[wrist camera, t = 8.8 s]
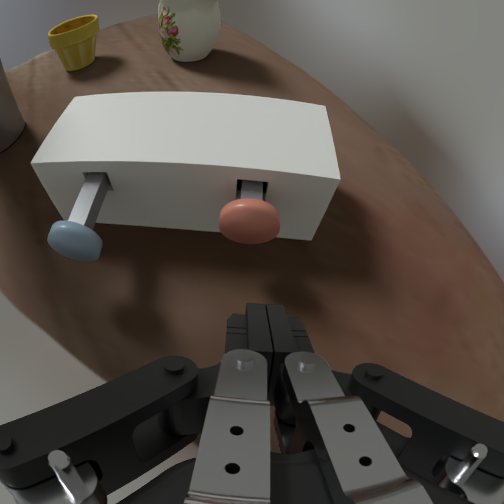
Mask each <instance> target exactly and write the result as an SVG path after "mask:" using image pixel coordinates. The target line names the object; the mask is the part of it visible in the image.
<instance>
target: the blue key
mask: <svg viewBox="0 0 504 504" xmlns="http://www.w3.org/2000/svg"><path fill="white" fill-rule="evenodd" d="M109 185H110V180H109V177H108V174H107V172H89V173H88V175H87V177H86V179H85V182H84V184H83V186H82V188H81V191H80V193H79V195H78V198H77V200H76V202H75V205H74V207H73V210H72V212H71V215H70V217H69V220H68V221H57V222H55V223H54V224H53V225H52V227H51V230H50V232H49V235H48V238H47V241H48V243H49V245H50V246H51V247H52V249H54V250H55V251H56V252H57V253H59V254H61V255H62V256H64V257H67V258H69V259H72V260H75V261H79V262H94V261H96V260H98V258H99V255H100V252H101V249H102V245H103V243H102V240H101V238H100V237H99V236H98V235H97V234H96V233H95V232H94V231H93V229H94V226H95V223H96V220H97V217H98V214H99V212H100V209H101V206H102V203H103V201H104V198H105V196H106V193H107V190H108V188H109Z"/></svg>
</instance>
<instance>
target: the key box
mask: <svg viewBox="0 0 504 504" xmlns="http://www.w3.org/2000/svg"><path fill="white" fill-rule="evenodd" d="M30 164H31V165H32V167H33V169H34V171H35V173H36V175H37V176H38V178H39V180H40V182H41V183H42V185H43V187H44V188H45V190H46V192H47V194H48V195H49V197H50V199H51V200H52V202H53V204H54V205H55V207H56V208H57V210H58V212H59V213H60V215H61V216H62V218H63V219H64V221H68V220H69V217H70V215H71V212H72V210H73V207H74V205H75V202H76V200H77V198H78V195H79V193H80V191H81V188H82V186H83V184H84V182H85V179H86V177H87V175H88V173H89V172H107V174H108V177H109V180H110V185H109V188H108V190H107V193H106V196H105V198H104V201H103V203H102V206H101V209H100V212H99V214H98V217H97V220H96V223H106V224H120V225H134V226H147V227H160V228H173V229H186V230H198V231H210V232H220V230H219V219H220V212H221V210H222V208H223V207H224V206H225V205H226V204H228V203H229V202H232V201H234V200H238V199H240V198H241V187H242V179H243V180H253V181H263V197H262V201H265V202H267V203H269V204H271V205H273V206H274V207H275V208H276V209H277V210H278V212H279V215H280V231H279V234H278V235H277V236H276V237H278V238H289V239H299V240H310V241H312V239H313V237H314V234H315V232H316V230H317V228H318V226H319V224H320V222H321V220H322V218H323V216H324V214H325V212H326V209H327V207H328V205H329V203H330V201H331V199H332V197H333V195H334V192H335V190H336V188H337V186H338V184H339V182H340V174H339V169H338V163H337V158H336V153H335V148H334V143H333V138H332V134H331V129H330V125H329V120H328V116H327V111H326V107H325V106H322V105H316V104H310V103H304V102H297V101H290V100H283V99H276V98H267V97H258V96H248V95H237V94H223V93H204V92H131V93H113V94H100V95H89V96H79V97H75V98H74V99H73V100H72V101H71V103H70V104H69V105H68V107H67V108H66V110H65V111H64V112H63V114H62V115H61V116H60V118H59V119H58V121H57V122H56V124H55V125H54V126H53V128H52V129H51V131H50V132H49V134H48V135H47V137H46V138H45V140H44V142H43V143H42V145H41V146H40V148H39V150H38V151H37V153H36V154H35V156H34V158H33V159H32V161H31V163H30Z"/></svg>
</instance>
